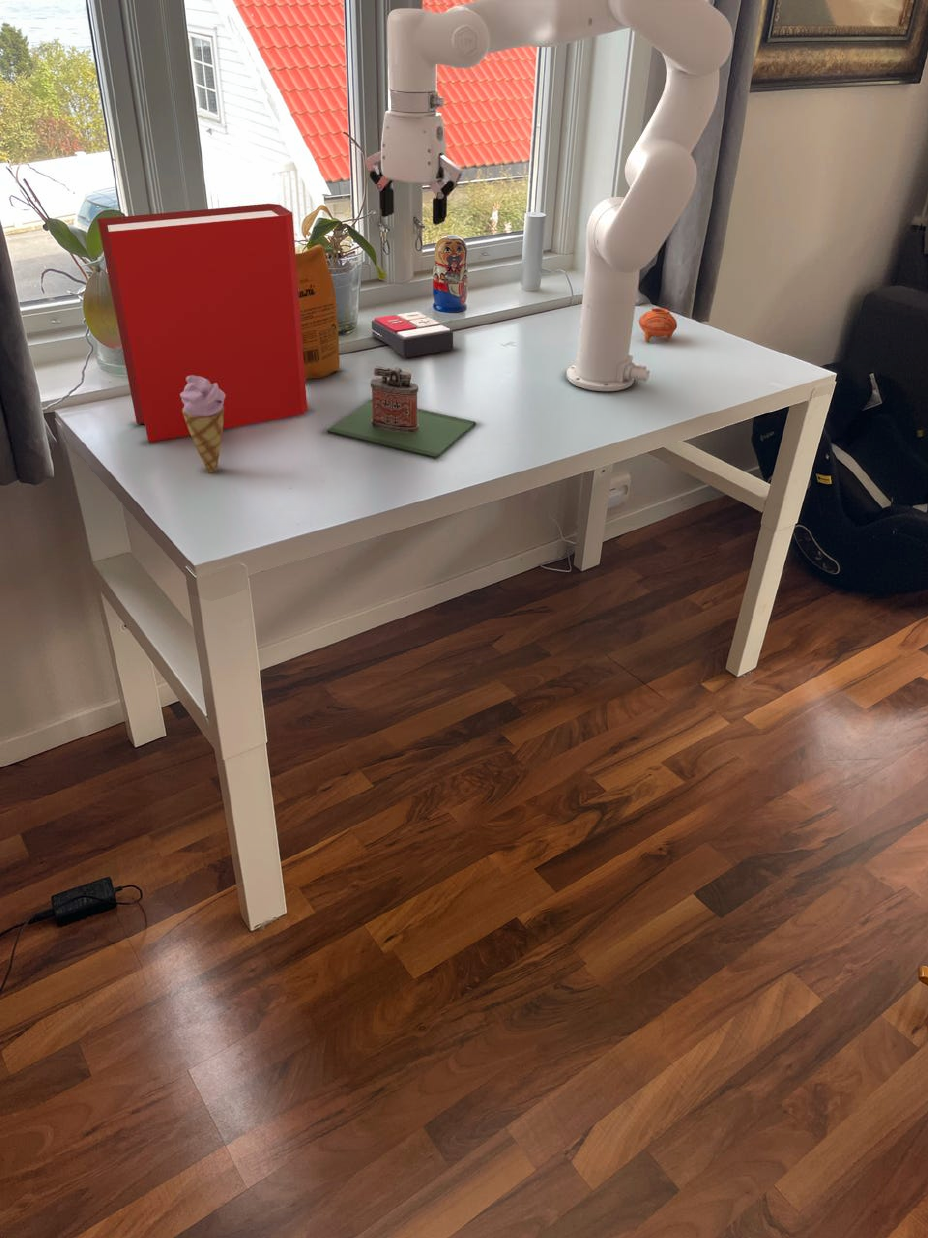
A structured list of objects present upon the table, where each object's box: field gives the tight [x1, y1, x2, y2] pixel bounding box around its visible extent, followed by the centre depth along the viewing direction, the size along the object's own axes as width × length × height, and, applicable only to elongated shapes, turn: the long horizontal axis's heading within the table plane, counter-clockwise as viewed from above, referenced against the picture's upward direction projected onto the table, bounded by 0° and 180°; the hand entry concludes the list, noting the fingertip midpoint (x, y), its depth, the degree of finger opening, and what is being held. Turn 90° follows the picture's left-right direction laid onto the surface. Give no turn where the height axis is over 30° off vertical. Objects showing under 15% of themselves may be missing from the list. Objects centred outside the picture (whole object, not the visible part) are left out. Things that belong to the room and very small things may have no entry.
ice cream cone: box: [180, 375, 226, 474], centre depth 138 cm, size 7×6×15 cm
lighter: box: [370, 365, 419, 433], centre depth 153 cm, size 8×3×10 cm, turn 71°
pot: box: [638, 307, 678, 343], centre depth 193 cm, size 8×8×7 cm
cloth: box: [326, 399, 477, 460], centre depth 156 cm, size 20×15×1 cm
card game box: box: [371, 311, 454, 358], centre depth 188 cm, size 11×4×15 cm
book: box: [97, 203, 308, 444], centre depth 148 cm, size 27×8×32 cm, turn 118°
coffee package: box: [295, 244, 341, 380], centre depth 169 cm, size 10×12×22 cm
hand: (413, 218), depth 156 cm, fingers open, 9 cm apart
